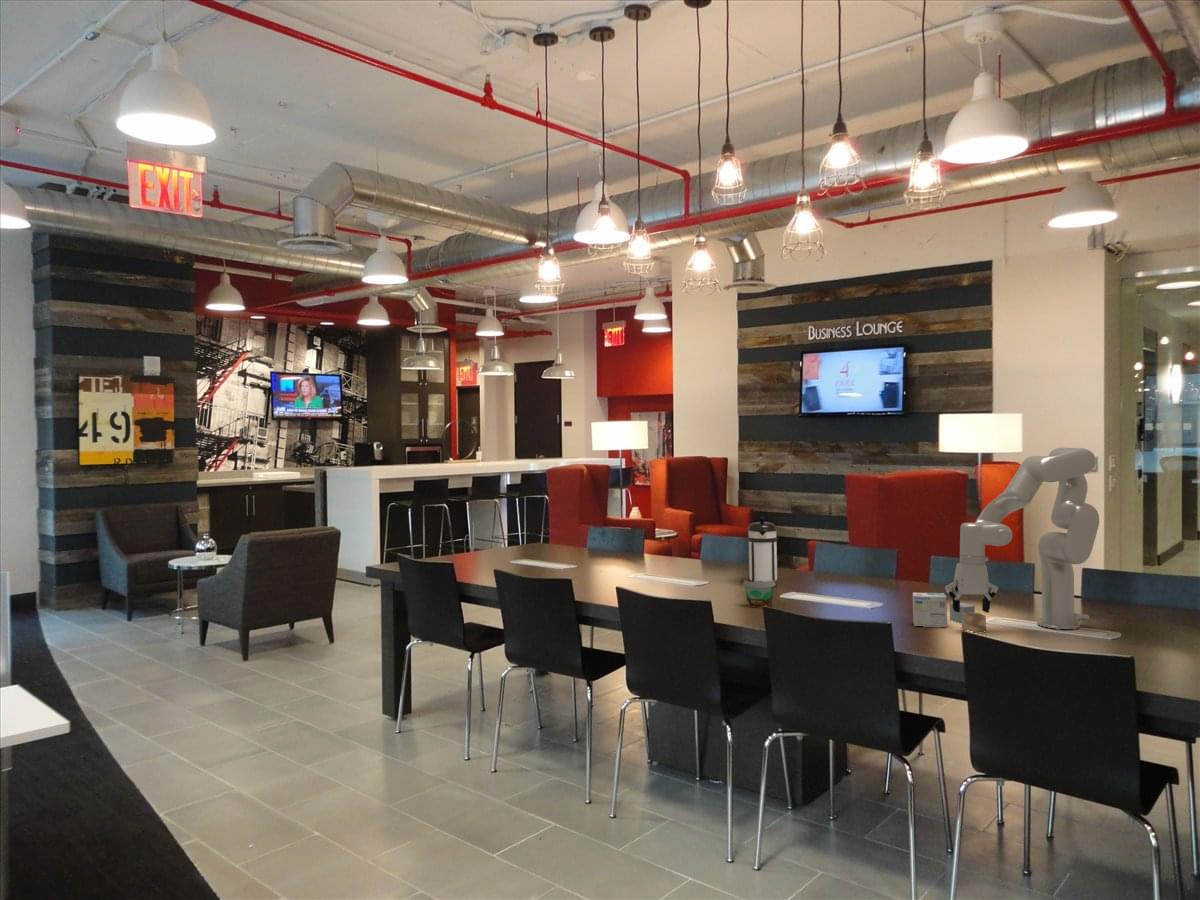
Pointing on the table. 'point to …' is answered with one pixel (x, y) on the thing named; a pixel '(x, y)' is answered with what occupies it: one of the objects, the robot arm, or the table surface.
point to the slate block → (963, 609)
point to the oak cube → (974, 622)
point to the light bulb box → (930, 609)
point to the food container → (759, 593)
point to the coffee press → (762, 551)
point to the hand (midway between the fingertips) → (971, 611)
